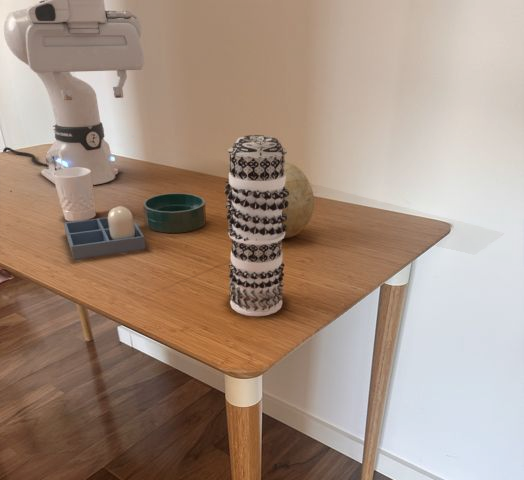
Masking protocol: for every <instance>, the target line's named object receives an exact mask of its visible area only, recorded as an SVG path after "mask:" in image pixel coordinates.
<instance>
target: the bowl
mask: <svg viewBox="0 0 524 480" xmlns="http://www.w3.org/2000/svg"><path fill="white" fill-rule="evenodd" d="M206 212H207V210H206V201H205V199H204V198H202V196H199V195H197V194H191V193H185V192H184V193H183V192H169V193H163V194H157V195H153V196H151V197H148V198H146V199H145V200H144V201H143V213H144V221H145V226H146V227H147V228H148V229H149V230H152V231H154V232H159V233H163V234H180V233H183V234H184V233H189V232H193V231H196V230H199V229H201V228H202V227H204V226H205V225H206V223H207V213H206Z"/></svg>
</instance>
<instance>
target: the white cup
mask: <svg viewBox="0 0 524 480" xmlns="http://www.w3.org/2000/svg"><path fill="white" fill-rule="evenodd" d="M53 178H54V182H55V184H54V185H55V189H56V194H57V196H58V200H59V203H60V207H61V208H62V213H63V217H64V219H65V220H66V221H67V222H75V221H83V220H91V219H94V217H96V216H97V213H96V201H95V192H94V185H93V183H92V175H91V170H90V169H87V168H80V167H73V168H64V169H59V170H56V171H54V172H53Z"/></svg>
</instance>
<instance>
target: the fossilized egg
mask: <svg viewBox="0 0 524 480" xmlns="http://www.w3.org/2000/svg"><path fill="white" fill-rule="evenodd" d="M284 173H285V174H286V178H285V185H284V187H285V188H286V189H287V190H288V191H289V195H288V196H287V197H285V198H283V199H285V200H287V201H288V202H289V204H288V207H286V208H284V209H282V211H283V213H284V214H286V215H287V220H286V221H284V222H283V224H284V225H286V226H287V228H286V231H285V236H284V238H283V239H289V238H292V237H294V236H297V235H298V234H300V233H301V232H302V231H303V230H304V229H305V228H306V227H307V225H308V224H309V223H310V221H311V219H312V217H313V213H314V208H315V196H314V191H313V188H312V185H311V183H310V181H309V179H308V177H307V175H305V173H304V172H303V171H302V170H301V169H300V168H299V167H298V166H297V165H296V164H294V163H292V162H289V161H285V166H284ZM284 187H283V188H284Z"/></svg>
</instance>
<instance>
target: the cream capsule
mask: <svg viewBox="0 0 524 480" xmlns="http://www.w3.org/2000/svg"><path fill="white" fill-rule="evenodd" d="M133 215H134V214H133V213H132V212H131V210H130V209H129V208H127V207H125V206H121V205H119V206H115V207H113V208H111V209H110V210H109V211H108V213H107V217H108V225H109V231H110V236H111V238H112V239H113V240H117V239H124V238H132V237H135V226H134V221H135V220H134V216H133Z"/></svg>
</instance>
